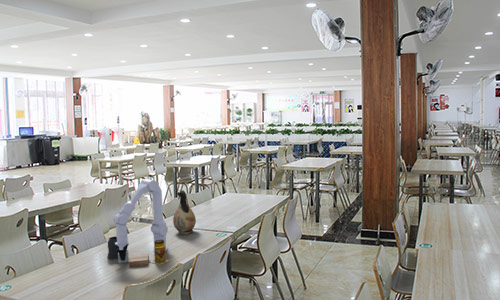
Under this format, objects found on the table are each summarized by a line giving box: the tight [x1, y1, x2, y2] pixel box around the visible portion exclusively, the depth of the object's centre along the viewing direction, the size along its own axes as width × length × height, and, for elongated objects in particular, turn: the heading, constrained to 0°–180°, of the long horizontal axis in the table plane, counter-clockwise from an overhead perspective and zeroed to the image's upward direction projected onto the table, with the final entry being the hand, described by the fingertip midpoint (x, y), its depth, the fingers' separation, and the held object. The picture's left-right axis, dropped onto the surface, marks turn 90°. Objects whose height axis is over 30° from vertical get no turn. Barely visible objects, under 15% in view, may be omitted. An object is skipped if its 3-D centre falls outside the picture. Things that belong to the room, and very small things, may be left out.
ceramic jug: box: [172, 189, 197, 235], centre depth 281 cm, size 17×15×30 cm
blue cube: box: [117, 249, 130, 264], centre depth 231 cm, size 5×5×5 cm
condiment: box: [150, 240, 170, 265], centre depth 228 cm, size 7×8×12 cm
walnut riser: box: [128, 253, 150, 268], centre depth 227 cm, size 10×10×3 cm
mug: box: [106, 235, 119, 260], centre depth 240 cm, size 12×9×11 cm
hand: (123, 258), depth 232 cm, fingers closed on blue cube, 5 cm apart
